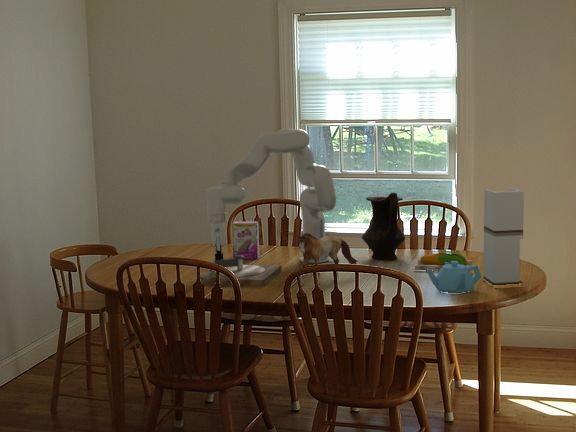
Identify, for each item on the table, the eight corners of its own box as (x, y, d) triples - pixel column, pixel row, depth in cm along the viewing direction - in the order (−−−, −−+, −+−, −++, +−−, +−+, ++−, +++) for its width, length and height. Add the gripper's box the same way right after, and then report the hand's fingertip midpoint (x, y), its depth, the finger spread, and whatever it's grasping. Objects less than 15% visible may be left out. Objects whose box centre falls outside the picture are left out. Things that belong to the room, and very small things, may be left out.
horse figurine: (303, 290, 297) (301, 235, 294) (288, 286, 303) (287, 233, 299) (359, 275, 318) (358, 224, 315) (344, 272, 323) (343, 222, 320)
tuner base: (281, 271, 329) (281, 262, 328) (263, 286, 304) (263, 277, 303) (219, 269, 336) (219, 260, 335) (196, 284, 311) (196, 274, 310)
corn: (462, 253, 315) (416, 249, 326) (462, 273, 316) (415, 268, 327) (469, 251, 322) (423, 247, 332) (469, 270, 322) (423, 265, 333)
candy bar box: (233, 259, 355) (231, 223, 352) (234, 257, 360) (233, 221, 357) (258, 259, 353) (256, 222, 351) (259, 257, 358) (258, 221, 356)
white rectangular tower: (522, 287, 291) (523, 191, 286) (493, 288, 291) (494, 192, 285) (510, 279, 303) (512, 187, 297) (483, 281, 302) (484, 188, 296)
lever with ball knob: (243, 268, 322) (242, 254, 321) (245, 270, 318) (245, 256, 317) (214, 271, 318) (213, 257, 317) (216, 272, 315) (215, 259, 314)
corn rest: (472, 266, 327) (472, 260, 327) (471, 272, 316) (471, 266, 316) (417, 264, 333) (417, 259, 333) (414, 271, 322) (414, 265, 321)
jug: (355, 257, 353) (354, 189, 348) (393, 253, 358) (393, 186, 354) (375, 266, 333) (374, 194, 328) (415, 262, 338) (415, 191, 334)
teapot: (463, 298, 279) (463, 267, 277) (425, 292, 288) (425, 263, 287) (483, 289, 290) (483, 259, 289) (445, 283, 300) (445, 255, 298)
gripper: (226, 220, 309) (229, 267, 312) (226, 214, 324) (228, 259, 327) (207, 221, 309) (209, 268, 312) (207, 215, 323) (210, 260, 326)
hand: (219, 263), depth 319 cm, fingers closed
